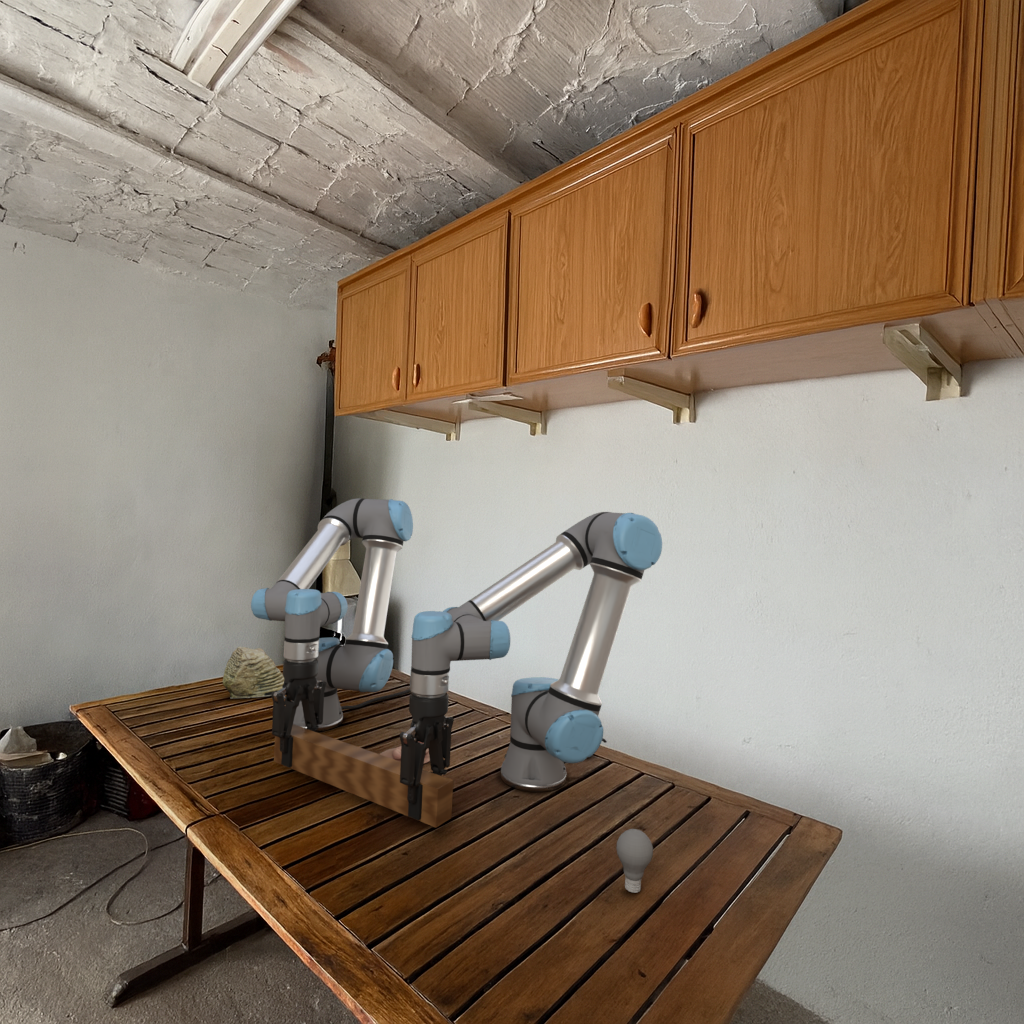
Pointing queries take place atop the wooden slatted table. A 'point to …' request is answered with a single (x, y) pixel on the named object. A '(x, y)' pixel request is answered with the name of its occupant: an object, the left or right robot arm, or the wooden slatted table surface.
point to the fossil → (251, 674)
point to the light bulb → (634, 857)
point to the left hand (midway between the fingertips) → (296, 761)
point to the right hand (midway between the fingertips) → (423, 811)
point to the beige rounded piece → (396, 754)
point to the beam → (366, 774)
